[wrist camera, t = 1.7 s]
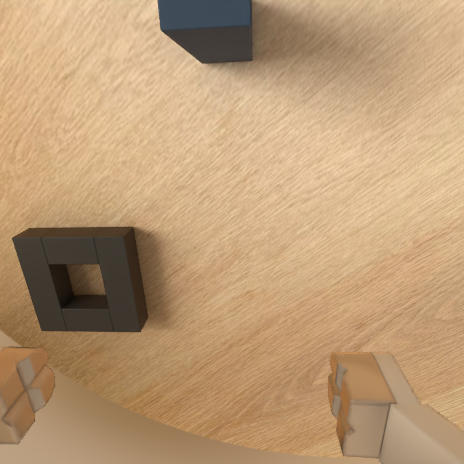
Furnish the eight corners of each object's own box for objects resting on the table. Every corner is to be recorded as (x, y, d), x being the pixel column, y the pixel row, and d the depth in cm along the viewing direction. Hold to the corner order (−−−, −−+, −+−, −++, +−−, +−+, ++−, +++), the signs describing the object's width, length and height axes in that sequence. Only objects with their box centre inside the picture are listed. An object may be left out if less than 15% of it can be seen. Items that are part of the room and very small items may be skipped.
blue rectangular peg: (201, 63, 25) (160, 31, 14) (197, 2, 24) (148, -88, 12) (252, 61, 25) (251, 26, 14) (251, -1, 23) (249, -97, 12)
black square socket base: (55, 316, 35) (41, 331, 33) (29, 227, 31) (11, 237, 29) (148, 317, 35) (140, 332, 32) (133, 226, 31) (123, 236, 28)
